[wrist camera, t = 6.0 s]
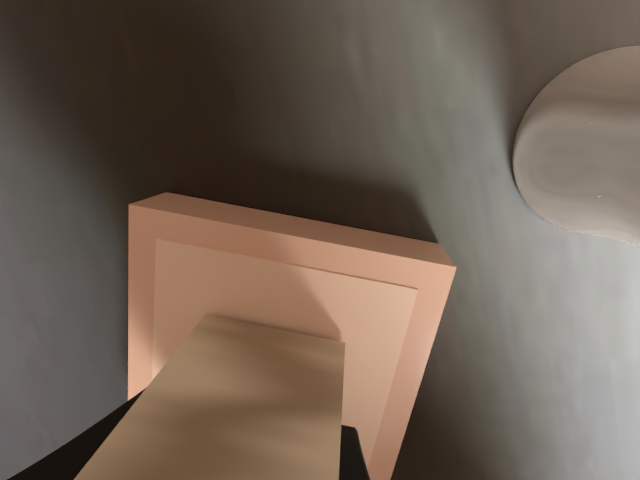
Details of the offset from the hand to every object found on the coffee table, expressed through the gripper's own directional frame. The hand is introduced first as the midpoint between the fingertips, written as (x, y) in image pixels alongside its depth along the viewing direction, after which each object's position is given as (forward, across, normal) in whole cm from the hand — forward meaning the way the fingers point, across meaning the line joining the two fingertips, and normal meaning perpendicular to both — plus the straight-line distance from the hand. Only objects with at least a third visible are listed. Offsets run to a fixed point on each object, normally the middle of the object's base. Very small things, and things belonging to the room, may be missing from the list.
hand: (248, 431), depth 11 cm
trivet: (+5, 0, 0) cm, 5 cm away
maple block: (+2, 0, 0) cm, 2 cm away
